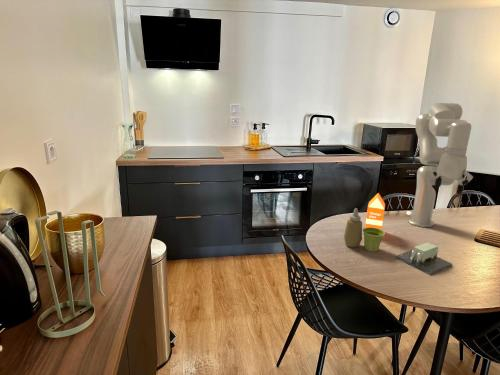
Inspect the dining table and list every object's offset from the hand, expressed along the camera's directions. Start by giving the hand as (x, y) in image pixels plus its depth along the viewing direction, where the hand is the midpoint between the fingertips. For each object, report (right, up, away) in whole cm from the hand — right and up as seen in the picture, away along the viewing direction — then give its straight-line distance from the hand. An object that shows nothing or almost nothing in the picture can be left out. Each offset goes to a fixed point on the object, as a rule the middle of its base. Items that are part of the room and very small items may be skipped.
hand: (448, 190), depth 152 cm
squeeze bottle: (-39, -26, +9) cm, 48 cm away
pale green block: (-13, -27, -5) cm, 31 cm away
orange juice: (-25, -22, +23) cm, 40 cm away
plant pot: (-31, -27, +6) cm, 42 cm away
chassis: (-13, -30, -5) cm, 33 cm away
